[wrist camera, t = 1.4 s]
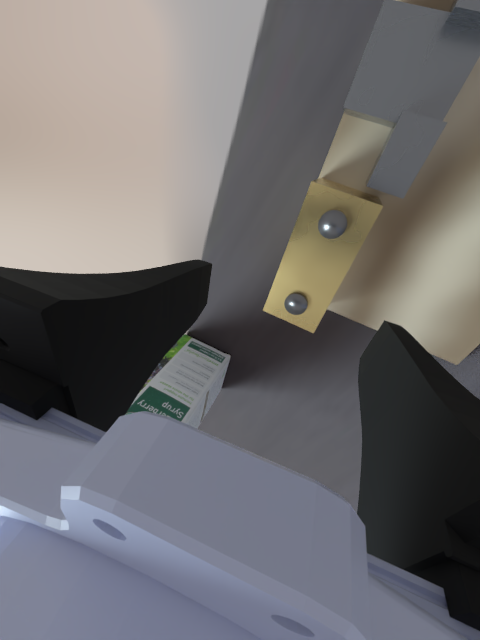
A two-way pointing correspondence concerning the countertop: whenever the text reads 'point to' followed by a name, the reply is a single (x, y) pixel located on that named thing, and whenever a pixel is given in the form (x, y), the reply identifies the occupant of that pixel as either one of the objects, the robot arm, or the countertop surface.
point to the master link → (321, 251)
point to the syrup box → (184, 382)
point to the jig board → (418, 230)
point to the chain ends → (412, 82)
